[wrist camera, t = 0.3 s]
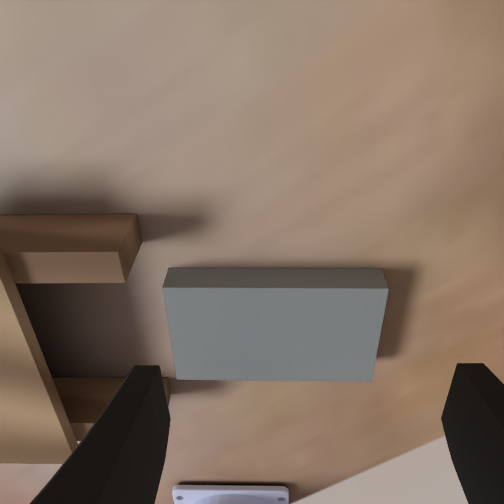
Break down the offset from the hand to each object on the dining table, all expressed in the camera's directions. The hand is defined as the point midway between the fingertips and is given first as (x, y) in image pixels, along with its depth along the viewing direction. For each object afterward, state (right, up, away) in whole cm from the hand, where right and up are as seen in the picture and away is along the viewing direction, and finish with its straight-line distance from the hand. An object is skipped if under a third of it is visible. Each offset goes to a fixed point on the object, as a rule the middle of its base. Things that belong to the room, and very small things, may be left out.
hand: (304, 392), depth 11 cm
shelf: (-10, 0, +12) cm, 16 cm away
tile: (0, +1, +12) cm, 12 cm away
